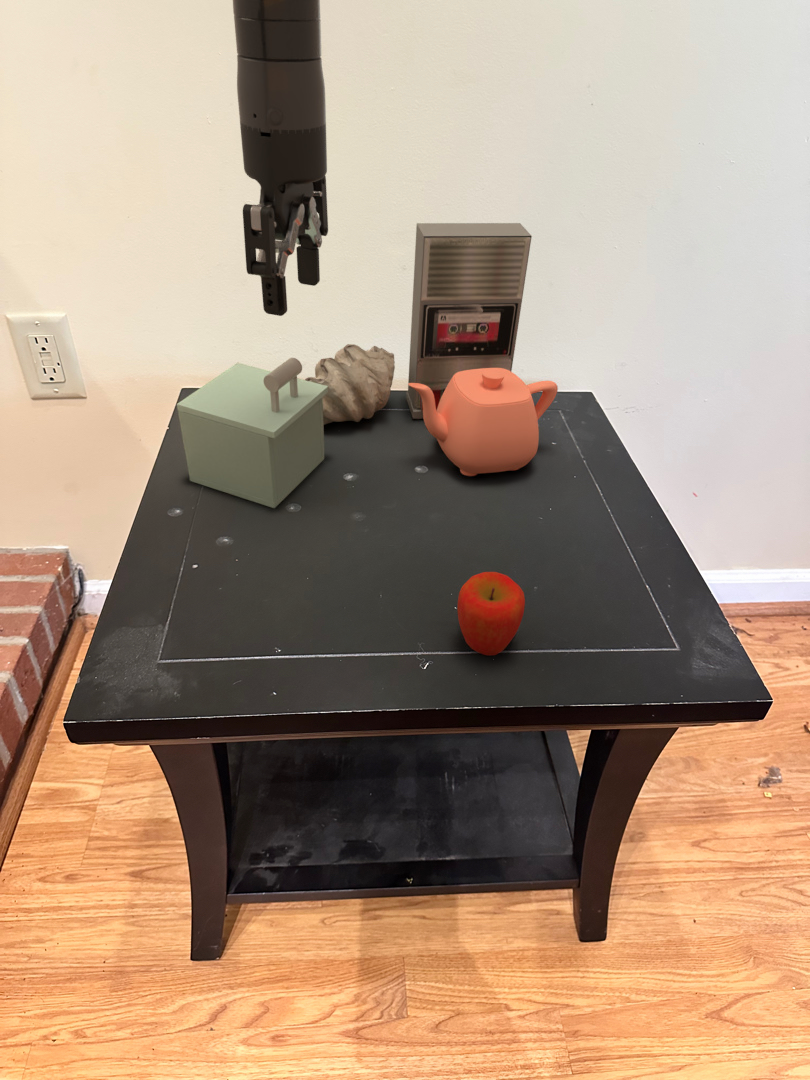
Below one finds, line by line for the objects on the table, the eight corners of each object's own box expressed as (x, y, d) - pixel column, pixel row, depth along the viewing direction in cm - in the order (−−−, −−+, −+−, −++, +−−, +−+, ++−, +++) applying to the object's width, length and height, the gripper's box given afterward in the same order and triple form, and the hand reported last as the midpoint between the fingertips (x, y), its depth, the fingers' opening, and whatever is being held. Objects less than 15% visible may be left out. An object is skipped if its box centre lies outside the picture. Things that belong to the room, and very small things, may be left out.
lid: (328, 392, 88) (327, 350, 85) (274, 438, 79) (270, 394, 76) (238, 368, 92) (233, 327, 88) (177, 410, 83) (169, 366, 80)
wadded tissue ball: (406, 430, 101) (409, 364, 94) (298, 440, 98) (294, 371, 91) (390, 395, 108) (392, 331, 102) (289, 402, 105) (285, 337, 99)
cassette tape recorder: (413, 421, 103) (423, 238, 87) (406, 400, 107) (415, 223, 92) (507, 417, 105) (534, 238, 89) (496, 396, 110) (521, 222, 94)
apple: (452, 617, 73) (459, 561, 69) (513, 621, 73) (524, 565, 69) (453, 665, 68) (460, 609, 64) (518, 669, 68) (531, 612, 64)
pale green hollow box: (324, 458, 94) (322, 390, 88) (274, 508, 86) (268, 437, 80) (245, 435, 98) (238, 368, 92) (189, 481, 89) (177, 410, 83)
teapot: (390, 439, 99) (393, 355, 91) (526, 423, 104) (539, 342, 96) (419, 495, 89) (425, 407, 81) (567, 475, 94) (586, 390, 86)
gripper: (277, 100, 70) (287, 270, 80) (204, 127, 59) (227, 318, 70) (350, 108, 69) (351, 280, 79) (290, 136, 58) (300, 331, 68)
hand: (293, 298), depth 74 cm, fingers open, 8 cm apart
